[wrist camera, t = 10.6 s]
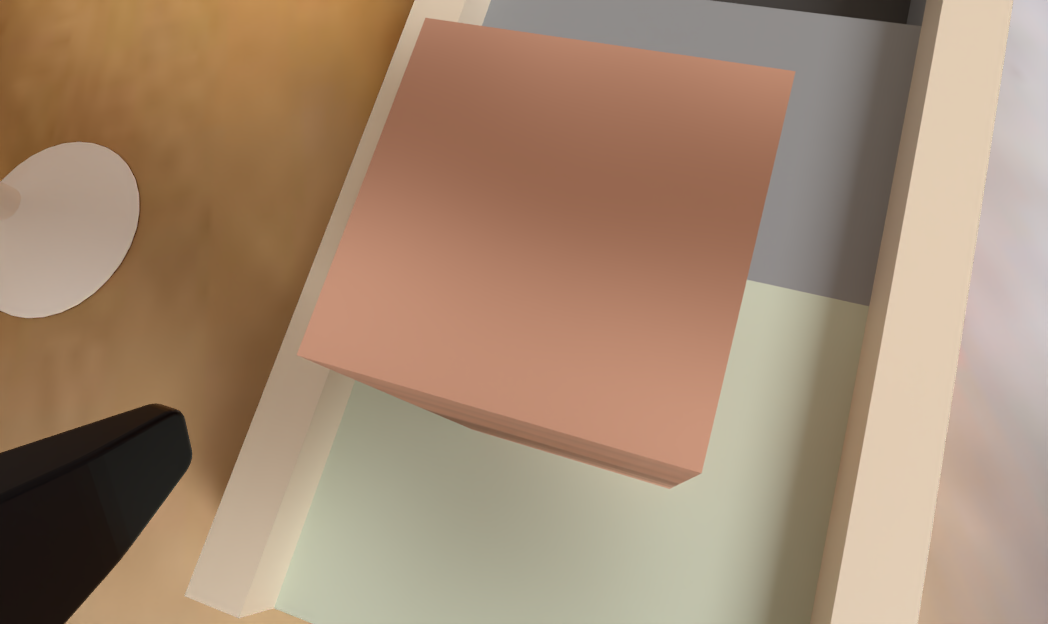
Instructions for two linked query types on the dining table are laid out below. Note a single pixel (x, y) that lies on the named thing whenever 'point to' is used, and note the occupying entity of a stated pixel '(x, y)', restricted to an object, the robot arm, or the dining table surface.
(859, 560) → the trap board
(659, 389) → the terracotta block
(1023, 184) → the dining table surface
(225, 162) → the dining table surface
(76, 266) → the champagne flute
